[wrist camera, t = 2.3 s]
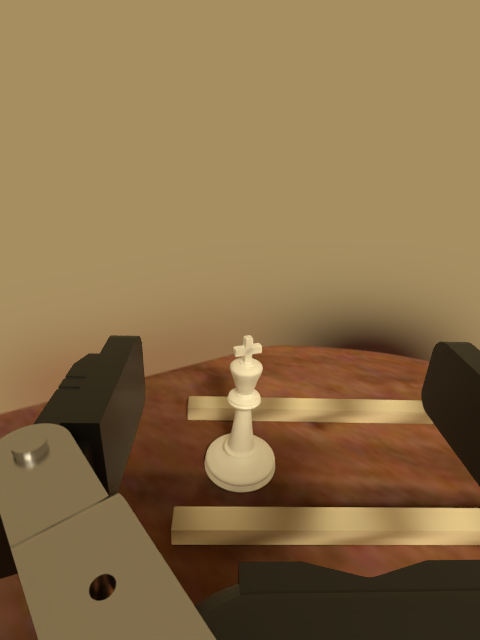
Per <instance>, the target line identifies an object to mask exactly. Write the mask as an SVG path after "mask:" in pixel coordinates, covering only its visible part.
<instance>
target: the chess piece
mask: <svg viewBox="0 0 480 640" xmlns="http://www.w3.org/2000/svg"><path fill="white" fill-rule="evenodd" d="M256 353H262V346H261V345H260V343H256V344H253V338H252V337H251V336H250V335H248V336H244V337H243V346H236V347H233V354H234V355H235V357H238V356H242V358H238V359H235V360H234V361H232V363H231V364H230V371H231V374H232V376H233V379H234V383H235V386H236V388H234V389H232V390H231V391H230V392H229V395H228V398H227V399H228V402H229V404H230V405H231V406H233V407H235V408H236V410H235V416H234V421H233V426H232V431H231V433H230V434H226V435H223V436H221V437H219V438H217V439H216V440H214V441H213V442H212V443H211V445H210V446H209V448H208V450H207V452H206V457H205V463H204V465H205V470H206V473H207V475H208V477H209V478H210V479H211V480H212V481H213V482H214V483H215V484H216V485H218V486H219V487H221V488H223V489H226V490H229V491H233V492H250V491H254V490H257V489H260V488H261V487H263V486H265V485H266V484H267V483H268V482H269V481H270V480H271V479H272V477H273V475H274V472H275V457H274V453H273V451H272V449H271V447H270V446H269V445H268V444H267V443H266V442H265V441H264V440H262V439H261V438H259V437H257V436H255V435H253V430H252V413H251V409H253V408H256V407H257V406H258V405H259V404H260V402H261V398H260V394H259V393H258V392H257V391H256V390H255V389H254V388H255V386H256V383H257V381H258V379H259V377H260V375H261V373H262V370H263V367H262V364H261V363H260V362H259V361H257V360H256V359H253V358H252V354H256Z"/></svg>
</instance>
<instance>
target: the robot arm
mask: <svg viewBox="0 0 480 640" xmlns="http://www.w3.org/2000/svg"><path fill="white" fill-rule="evenodd" d="M143 366H144V365H143V352H142V342H141V338H140V337H139V336H110V337H109V338H108V340H107V342H106V344H105V345H104V347H103V349H102V351H101V353H100V354H88V355H86V356H85V357H83V358H82V359H80V360H79V361H77V362H76V363H74V364H73V366H72V368H71V369H70V371H69V372H68V374H67V375H66V378H65V379H63V381H62V383H61V384H60V385H59V389H58V390H56V391H55V393H54V394H53V396H52V397H51V399H50V400H49V402H48V403H47V405H46V406H45V408H44V409H43V411H42V412H41V414H40V415H39V417H38V418H37V420H36V421H35V423H34V424H33V425H30V426H26V427H23V428H20V429H17V430H15V431H13V432H11V433H9V434H7V435H6V436H4V437H3V438H1V439H0V579H1V578H4V577H7V576H11V575H14V574H17V573H18V574H19V578H20V581H21V584H22V588H23V591H24V594H25V597H26V601H27V604H28V607H29V611H30V614H31V617H32V620H33V624H34V627H35V630H36V634H37V637H38V640H480V560H427V561H423V562H420V563H417V564H414V565H411V566H408V567H404V568H401V569H398V570H395V571H392V572H389V573H386V574H382V575H379V576H376V577H363V576H358V575H354V574H350V573H346V572H342V571H338V570H334V569H330V568H325V567H321V566H317V565H313V564H309V563H305V562H239V571H238V584H236V585H233V586H230V587H227V588H224V589H222V590H220V591H218V592H215V593H213V594H211V595H209V596H208V597H206V598H205V599H203V600H201V601H200V602H198V603H197V604H195V605H193V603H192V602H191V600H190V598H189V597H188V595H187V594H186V592H185V591H184V589H183V588H182V586H181V585H180V583H179V582H178V580H177V578H176V577H175V575H174V574H173V572H172V571H171V569H170V568H169V566H168V565H167V563H166V562H165V560H164V558H163V557H162V555H161V554H160V552H159V551H158V549H157V548H156V546H155V545H154V543H153V542H152V540H151V538H150V537H149V535H148V534H147V532H146V531H145V529H144V528H143V526H142V525H141V523H140V522H139V520H138V518H137V517H136V515H135V514H134V512H133V511H132V509H131V508H130V506H129V505H128V503H127V502H126V500H125V499H124V497H123V496H122V495H121V494H120V493H118V490H119V487H120V484H121V481H122V477H123V474H124V471H125V467H126V464H127V461H128V457H129V454H130V451H131V447H132V444H133V441H134V438H135V434H136V431H137V428H138V424H139V421H140V418H141V414H142V411H143V407H144V401H145V379H144V367H143ZM421 397H422V404H423V408H424V410H425V412H426V414H427V415H428V416H429V418H430V419H431V420H432V422H433V423H434V425H435V426H436V427H437V429H438V430H439V431H440V433H441V434H442V436H443V437H444V438H445V440H446V441H447V442H448V444H449V445H450V446H451V448H452V449H453V451H454V452H455V453H456V455H457V456H458V457H459V459H460V460H461V461H462V463H463V464H464V466H465V467H466V468H467V470H468V471H469V472H470V474H471V475H472V476H473V478H474V479H475V481H476V482H477V483H478V485H479V486H480V351H479V350H478V349H477V348H476V347H475V346H474V345H472V344H471V343H468V342H439V343H437V344H436V345H435V347H434V349H433V352H432V356H431V359H430V363H429V366H428V370H427V374H426V377H425V381H424V384H423V388H422V396H421Z"/></svg>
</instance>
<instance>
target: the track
mask: <svg viewBox="0 0 480 640" xmlns="http://www.w3.org/2000/svg"><path fill="white" fill-rule="evenodd" d="M227 398H228V397H213V396H189V402H188V420H229V421H234V416H235V410H236V408H235V407H233V406H231V405H230V404H229V402H228V399H227ZM260 398H261V402H260V404H259V405H258V406H257V407H256V408H253V409H251V413H252V421H288V422H346V423H404V424H434V423H433V422H432V420H431V419H430V418H429V416H428V415H427V414H426V412H425V410H424V408H423V404H422V401H411V400H362V399H312V398H263V397H260ZM171 543H172V545H480V508H363V507H191V506H174V512H173V519H172V526H171Z"/></svg>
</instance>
